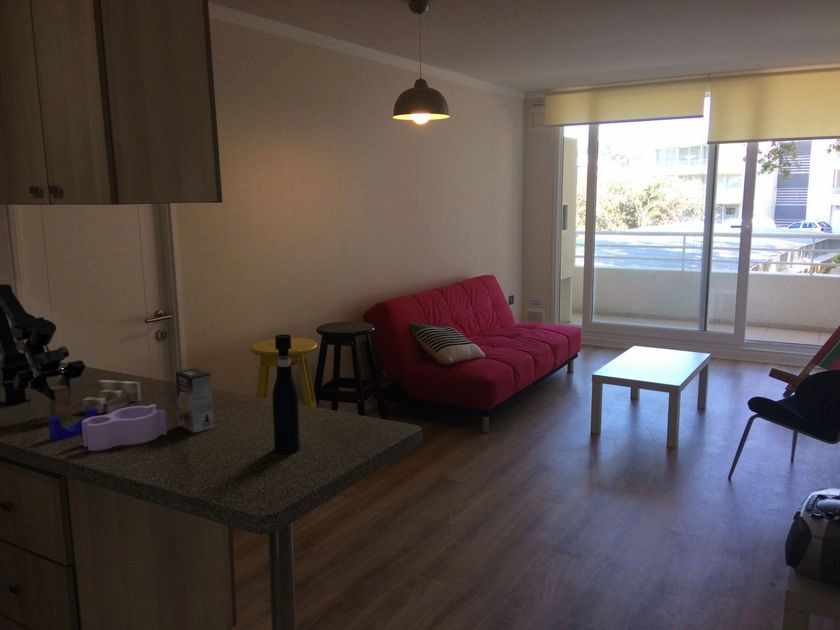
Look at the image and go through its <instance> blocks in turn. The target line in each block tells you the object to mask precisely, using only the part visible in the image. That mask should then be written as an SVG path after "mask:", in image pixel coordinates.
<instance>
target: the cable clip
mask: <svg viewBox="0 0 840 630" xmlns="http://www.w3.org/2000/svg"><path fill="white" fill-rule="evenodd" d="M94 416H99V413H98V412H97V409H95V408H92V407H91V408H87V409H86V412H85V417H84V418H80V419H79V420H78V421H77V422H76V423H75V424H73V425H72V426H69V427H68V428H65V427H63V425H62V423H60V419H58V418H55V417H52V418H51V417H49V418H48V421H47V422H48V430H49V437H50V438H49V439H50V440H52V441H54V442H58V441H59V442H60V441H63V440H66V439H70V438H72V437H73V438H74V437H77V436H80V435H83V431H82V421H83V420H84V419H87V418H90V417H94Z"/></svg>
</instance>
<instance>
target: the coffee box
mask: <svg viewBox="0 0 840 630" xmlns="http://www.w3.org/2000/svg"><path fill="white" fill-rule="evenodd" d="M175 380H176V395H177V396H176V397H177V398H176V399H177V412H178V426H180V427H182V428H183V429H185V430H187V431H190V432H192V433H195V434H196V433H199V432H203V431H206V430H209V429H213V428H214V412H213V411H214V410H213V408H214V407H213V393H212V391H213V390H212V373H210V372H208V371H205V370H202V369H199V368H197V367H191V368H188V369H183V370H179V371H175Z"/></svg>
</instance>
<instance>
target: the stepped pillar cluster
mask: <svg viewBox="0 0 840 630" xmlns="http://www.w3.org/2000/svg"><path fill="white" fill-rule="evenodd" d="M97 391H98V392H97V393H98V397H93V396H92V397H91V396H87V397H85V398H83V399H82V407H83V412H84V413H86V409H87V408H91V407H92V408H95V409H97V412H98V414H103V415H106V414H109V413H111V412H113V411H115V410H118V409H122V408H124V407H125V406H126V405H129V404H131V402H138V403H139V402H140V401H142V392H141V382H140V381H124V380H107V379H99V380H98V381H97Z"/></svg>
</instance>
